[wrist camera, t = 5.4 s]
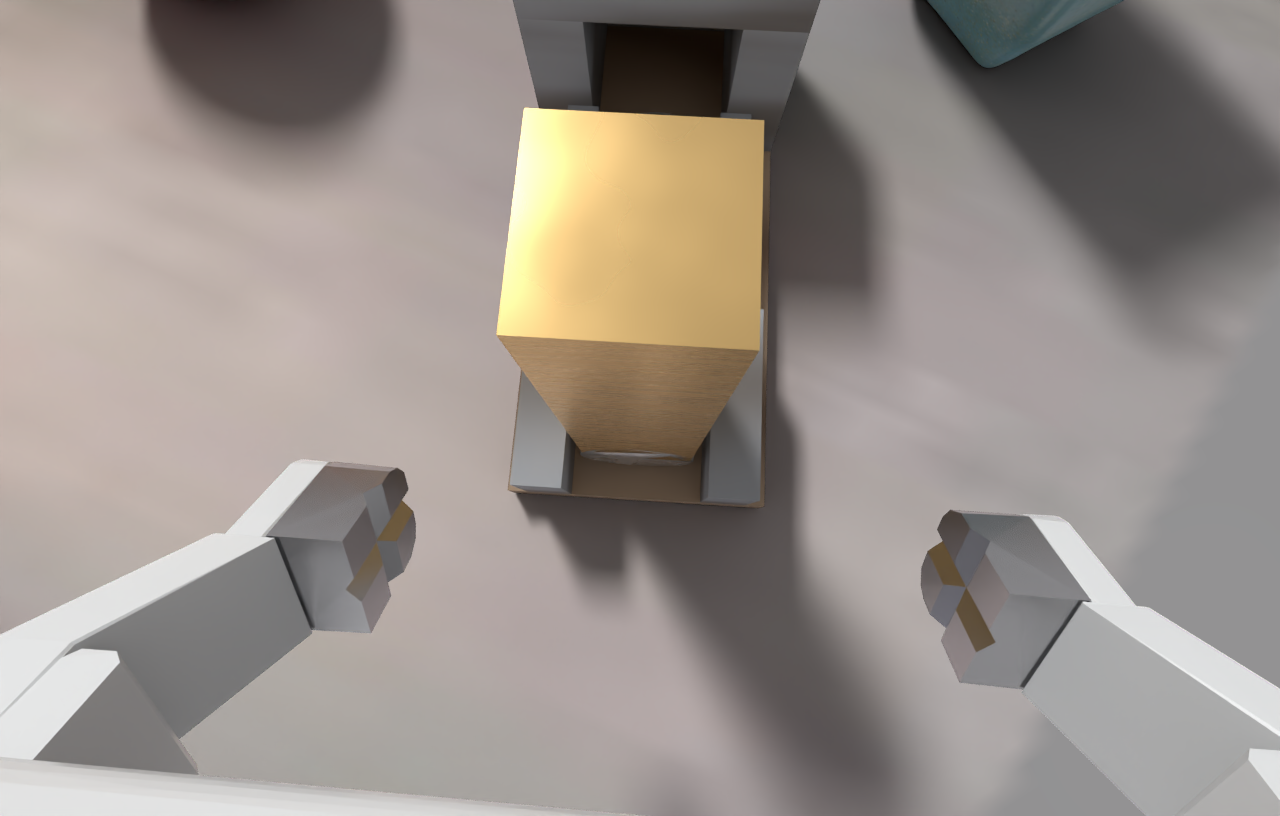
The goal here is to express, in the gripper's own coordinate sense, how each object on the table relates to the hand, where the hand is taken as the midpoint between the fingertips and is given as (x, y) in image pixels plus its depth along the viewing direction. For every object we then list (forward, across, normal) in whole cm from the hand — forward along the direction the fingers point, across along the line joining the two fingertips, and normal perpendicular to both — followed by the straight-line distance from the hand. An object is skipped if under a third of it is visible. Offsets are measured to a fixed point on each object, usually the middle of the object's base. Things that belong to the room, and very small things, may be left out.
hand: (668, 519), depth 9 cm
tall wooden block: (+11, +1, +1) cm, 11 cm away
